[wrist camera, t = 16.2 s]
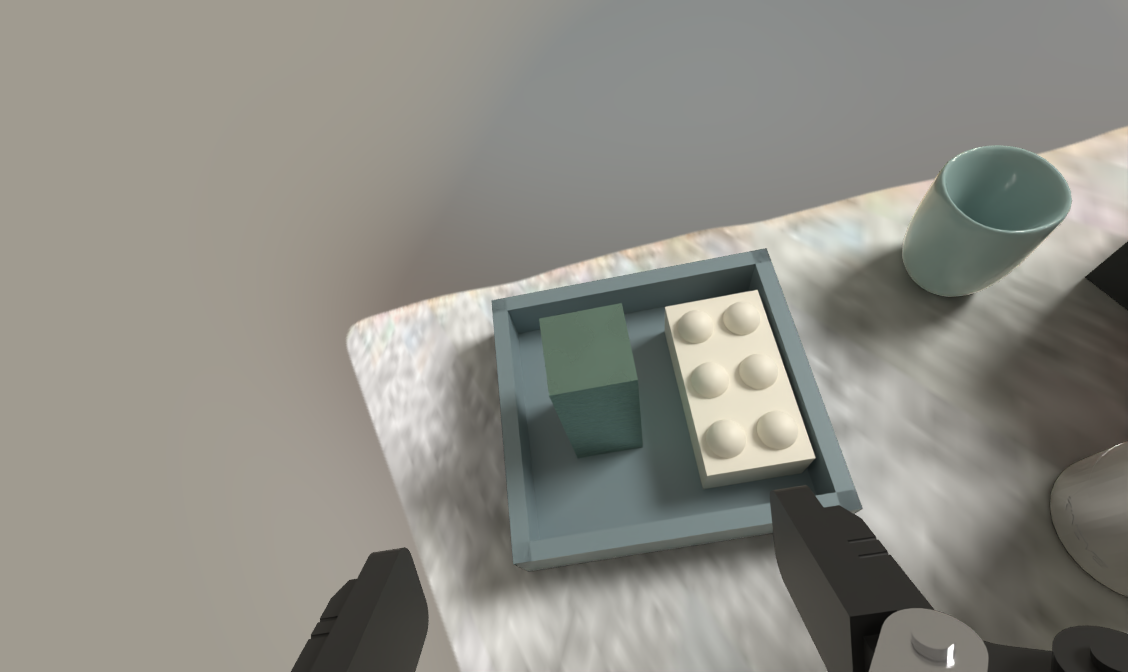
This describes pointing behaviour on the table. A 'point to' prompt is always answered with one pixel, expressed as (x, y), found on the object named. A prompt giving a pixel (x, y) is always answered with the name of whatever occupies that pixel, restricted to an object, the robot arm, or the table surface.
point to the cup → (983, 219)
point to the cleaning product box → (1113, 276)
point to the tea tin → (593, 379)
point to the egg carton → (735, 391)
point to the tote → (666, 461)
